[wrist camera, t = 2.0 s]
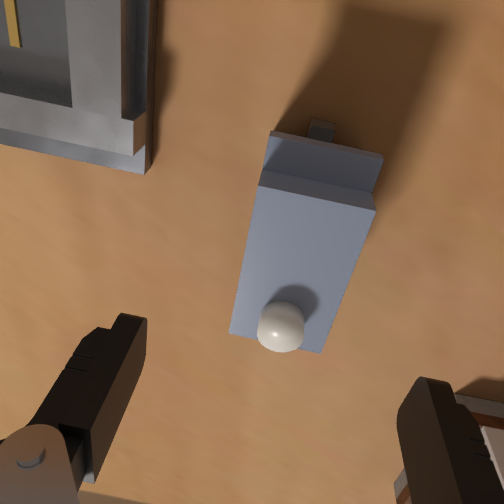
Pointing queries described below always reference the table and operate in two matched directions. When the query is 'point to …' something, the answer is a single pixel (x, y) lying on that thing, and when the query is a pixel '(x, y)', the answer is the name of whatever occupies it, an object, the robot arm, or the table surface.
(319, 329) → the servo
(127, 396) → the robot arm
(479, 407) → the white alcove tower
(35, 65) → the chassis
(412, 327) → the table surface
